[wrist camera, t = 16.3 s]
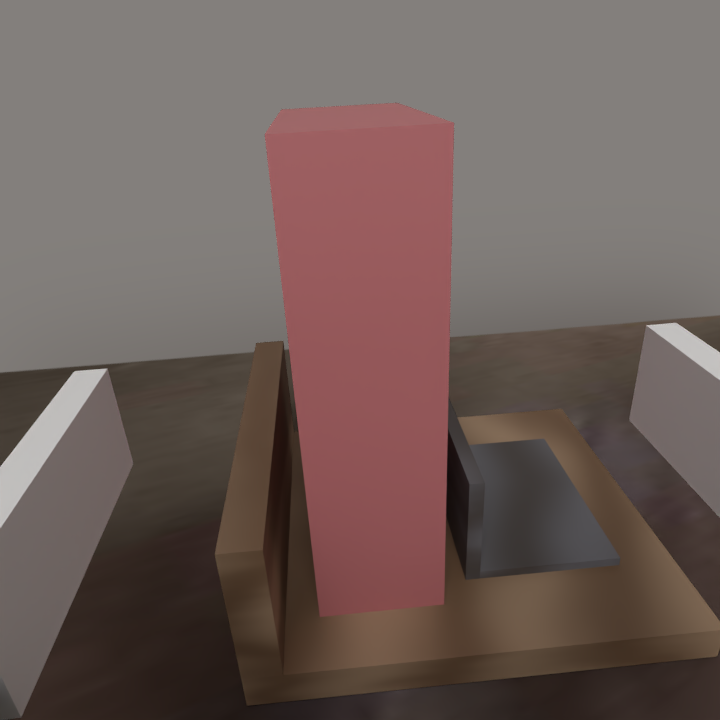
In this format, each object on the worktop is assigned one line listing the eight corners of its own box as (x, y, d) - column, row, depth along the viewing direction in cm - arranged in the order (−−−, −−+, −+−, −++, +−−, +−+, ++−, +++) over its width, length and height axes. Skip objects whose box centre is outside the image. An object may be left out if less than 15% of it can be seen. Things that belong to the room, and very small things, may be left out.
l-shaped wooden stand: (246, 705, 22) (214, 554, 18) (271, 453, 36) (256, 343, 33) (717, 656, 23) (767, 503, 19) (559, 429, 37) (572, 318, 34)
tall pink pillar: (319, 617, 23) (264, 133, 15) (316, 455, 33) (281, 109, 25) (444, 604, 24) (453, 122, 16) (403, 447, 33) (397, 102, 25)
